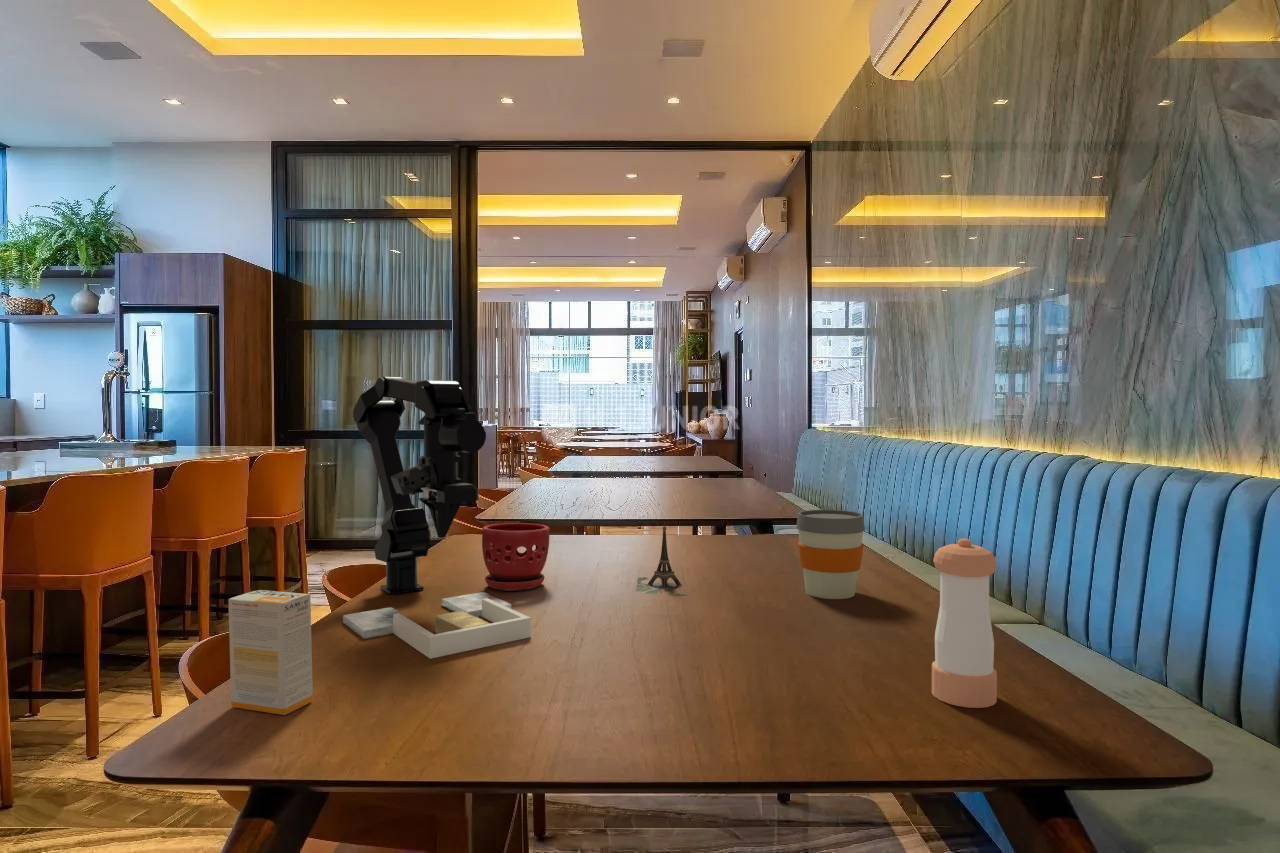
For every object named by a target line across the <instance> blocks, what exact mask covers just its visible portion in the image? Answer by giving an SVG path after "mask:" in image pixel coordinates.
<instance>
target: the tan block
mask: <svg viewBox="0 0 1280 853" xmlns="http://www.w3.org/2000/svg"><path fill="white" fill-rule="evenodd" d="M471 617H474V616H472V615H470V614H468V613H466V612H463V611H457V612H453V611H451V612H447V613H441V614H436V615H434V630H435V634H439V633H444V632H449V625H448V622H450V621H455V620H460V619H465V618H471Z"/></svg>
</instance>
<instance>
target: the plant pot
mask: <svg viewBox="0 0 1280 853" xmlns="http://www.w3.org/2000/svg"><path fill="white" fill-rule="evenodd" d="M481 546H482V548H481V549H482V556H483V561H484V565H485V567H486V570H487V571H488V573H489V574H487V575H486V576H485V577H484V581H485V583H486V584H487V585H488V587H490V588H492V589H496V590H500V591H503V592H510V591H514V592H515V591H525V590H532V589H535V588H537V587H538V586H541V584H543V582H544V581H545V575H544V574H543V573H542V571H543V569H544V567H545V565H546V563H547V560H548V559H547V558H548V553H549V547H550V527H549V526H547V525H545V524H539V523H529V522H528V523H527V522H514V523H513V522H507V523H493V524H489V525H484V526H483V527H482V530H481ZM534 546H535V549H534V550H533V547H534ZM521 547H523V548H525V551H524V552H520V551H519V550H518V549H519V548H521Z"/></svg>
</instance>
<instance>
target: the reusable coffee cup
mask: <svg viewBox="0 0 1280 853" xmlns="http://www.w3.org/2000/svg"><path fill="white" fill-rule="evenodd" d="M796 518H797V519H796V525H795V526H796V527H795V528H796V529H797V531H798V538H799V541H798V542H797V548H798V556H799V557H798V558H799V564H800V567H801V568H802V569H803V570H802V572H803V578H804V579H803V580H804V587H805V593H806V594H807V595H808V596H812V597H815V598H817V599H818V598H819V599H826V600H843V599H844V600H846V599H851V598H852V597H855V595H856V587H857V579H858V572H859V571H860V570H861V566H862V560H863V559H862V558H863V551H864V544H863V543H862V541H863V535H864V531H866V528H865V518H864V514H862V513H860V512H857V511H849V510H840V509H809V510H807V509H806V510H801V511H799V512H797V516H796Z"/></svg>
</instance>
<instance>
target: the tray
mask: <svg viewBox="0 0 1280 853" xmlns="http://www.w3.org/2000/svg"><path fill="white" fill-rule="evenodd" d="M400 613H401V612H400ZM400 613H397V614H393V633H392V634H394V635H395V636H396V637H398V638H399V639H400V640H402V641H404V642H405V643H407V644H408V645H409V646H411V647H412V648H414V649H416V651H418V652H420V653H421V654H423V655H424V656H425V657H426V658H428V659H430V660H431V659H436V658H439V657H440V658H441V657H445V656H450V655H454V654H458V653H463V652H467V651H468V652H469V651H472V650H477V649H481V648H485V647H491V646H496V645H500V644H505V643H509V642H515V641H519V640H524V639H528V638H531V637H532V632H531V631H532V629H531V625H532V623H531V622H532V620H531V619H532V618H531V617H530V616H528V615H526V614H524V613H521V612H519V611H517V610H514V609H512V608H511V609H510V608H508V607H506V606H504V605H501V604H499V603H497V602H495V601H493V600H490V599H488V598H485V599H482V617H481V618H483V619H486V620H488V621H489V622H492V623H489V624H485V625H480V626H475V627H470V628H465V629H460V630H455V631H449V632H444V633H439V634H438V633H435V634H434V633H432V632H431V631H430V630H427V629H425V627H422V626H421V625H419V624H418V623H416V621H415V622H413V621H414V620H413V621H411V620H410V619H411V618H410V619H408V618H409V617H408V618H406V617H405V616H406V615H405V616H403V615H404V614H403V613H402V614H403V615H402V614H400Z"/></svg>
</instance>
